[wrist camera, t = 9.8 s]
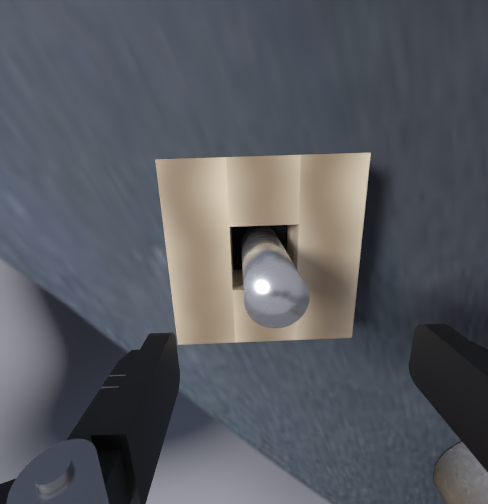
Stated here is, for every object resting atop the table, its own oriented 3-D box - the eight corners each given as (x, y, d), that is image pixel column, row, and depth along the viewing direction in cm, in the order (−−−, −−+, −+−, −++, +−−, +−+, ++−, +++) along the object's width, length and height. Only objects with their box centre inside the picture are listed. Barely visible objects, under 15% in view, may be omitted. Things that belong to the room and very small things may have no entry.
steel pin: (278, 224, 21) (310, 267, 12) (277, 259, 22) (308, 327, 13) (240, 225, 21) (243, 270, 12) (241, 261, 22) (245, 329, 12)
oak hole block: (345, 156, 20) (370, 152, 16) (333, 310, 24) (351, 337, 20) (171, 162, 20) (155, 159, 16) (187, 316, 23) (177, 344, 20)
